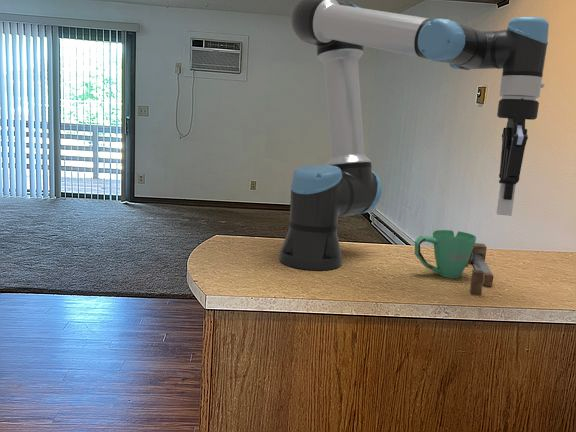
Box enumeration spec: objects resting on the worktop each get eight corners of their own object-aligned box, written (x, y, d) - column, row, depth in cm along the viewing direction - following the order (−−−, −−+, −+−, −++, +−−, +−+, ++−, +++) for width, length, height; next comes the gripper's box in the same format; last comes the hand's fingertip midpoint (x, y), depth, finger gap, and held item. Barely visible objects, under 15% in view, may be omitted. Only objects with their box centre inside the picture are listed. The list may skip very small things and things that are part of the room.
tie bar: (483, 285, 127) (484, 274, 126) (469, 257, 152) (470, 249, 151) (492, 286, 126) (493, 275, 126) (476, 258, 151) (477, 249, 151)
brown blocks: (471, 294, 120) (473, 271, 119) (456, 259, 151) (458, 240, 150) (503, 298, 119) (506, 275, 118) (482, 261, 149) (484, 243, 148)
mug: (457, 269, 140) (462, 230, 138) (479, 281, 131) (484, 239, 129) (402, 269, 137) (407, 229, 135) (421, 281, 127) (426, 238, 125)
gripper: (547, 98, 106) (530, 221, 110) (531, 101, 118) (516, 211, 123) (505, 96, 107) (490, 218, 111) (494, 99, 120) (480, 208, 124)
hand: (504, 214), depth 117 cm, fingers closed
